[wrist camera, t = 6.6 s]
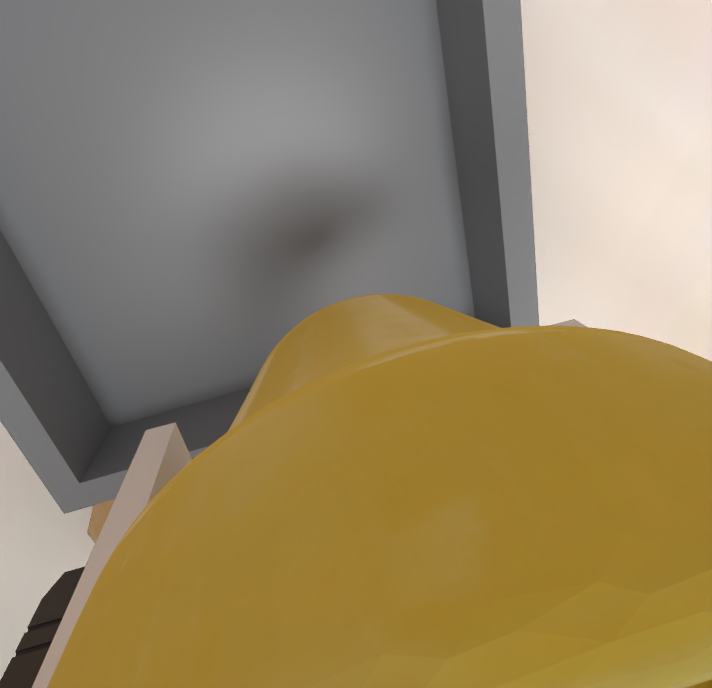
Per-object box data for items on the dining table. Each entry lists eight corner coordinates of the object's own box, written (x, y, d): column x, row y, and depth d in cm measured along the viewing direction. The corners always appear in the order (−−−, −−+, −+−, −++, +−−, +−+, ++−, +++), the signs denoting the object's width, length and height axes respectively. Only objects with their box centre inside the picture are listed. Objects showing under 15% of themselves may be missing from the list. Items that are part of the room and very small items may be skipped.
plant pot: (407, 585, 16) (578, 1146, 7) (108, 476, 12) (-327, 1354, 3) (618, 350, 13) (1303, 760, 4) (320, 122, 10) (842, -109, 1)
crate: (103, 443, 29) (64, 513, 23) (-203, -82, 18) (-412, -180, 12) (493, 333, 30) (542, 374, 25) (435, -219, 19) (499, -360, 14)
